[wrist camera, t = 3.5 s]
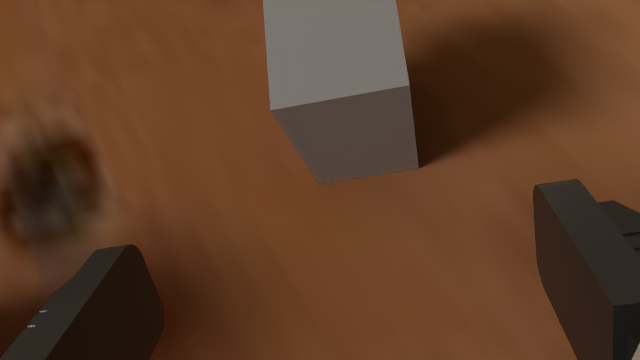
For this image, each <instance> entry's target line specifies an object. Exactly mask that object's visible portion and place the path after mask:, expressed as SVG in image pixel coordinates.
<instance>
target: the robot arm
mask: <svg viewBox="0 0 640 360" xmlns="http://www.w3.org/2000/svg"><path fill="white" fill-rule="evenodd" d="M533 203H534V221H535V238H536V255H537V263H538V269H539V274H540V277H541V281H542V284H543V287H544V289H545V291H546V293H547V296H548V298H549V300H550V302H551V304H552V306H553V308H554V310H555V313H556V315H557V317H558V319H559V321H560V323H561V325H562V327H563V330H564V332H565V334H566V336H567V338H568V340H569V342H570V344H571V347H572V349H573V351H574V353H575V355H576V357H577V359H578V360H640V214H639V213H638V212H636V211H634V210H632V209H630V208H628V207H626V206H624V205H622V204H620V203H618V202H616V201H607V202H600V203H597V202H596V200H595V199H594V198H593V197H592V195H591V194H590V193H589V192H588V190H587V189H586V188H585V187H584V185H583V184H582V183H581V182H580V180H578V179H572V180H566V181H559V182H552V183H546V184H539V185H535V186H534V190H533ZM39 311H40V313H39V314H36V315H35V316H34V317H33V319H32V320H31V321H30V322H29V324H28V325H27V326H28V328H27V329H24V330H23V331H22V332H21V333H20V335H19V336H18V337H17V338H16V340H15V341H14V342H13V343H12V344H11V346H10V347H9V348H8V349H7V351H6V352H5V353H4V354H3V355H2V357H1V358H0V360H149V359H150V357H151V354H152V352H153V350H154V348H155V346H156V344H157V342H158V340H159V338H160V336H161V333H162V330H163V326H164V311H163V306H162V303H161V300H160V298H159V295H158V293H157V291H156V288H155V286H154V283H153V281H152V278H151V276H150V274H149V271H148V269H147V266H146V264H145V261H144V259H143V256H142V254H141V252H140V251H139V249H138V248H137V247H136V246H134V245H124V246H118V247H111V248H104V249H98V250H96V251H94V252H93V253H92V255H91V256H90V257H89V259H88V260H87V261H86V262H85V264H84V265H83V266H82V267H81V269H80V270H79V271H78V272H77V274H76V275H75V276H74V277H73V278H72V279H71V280H69V281H68V282H67V283H66V284H64V285H63V286H62V287H60V288H59V289H58V290H57V291H55V292H54V293H53V294H52V295H51V297H50V298H49V299H48V300H47V302H46V303H45V304H44V305H43V306H42V308H41V309H40V310H39Z"/></svg>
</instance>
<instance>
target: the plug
mask: <svg viewBox="0 0 640 360" xmlns="http://www.w3.org/2000/svg"><path fill="white" fill-rule="evenodd" d="M263 8H264V22H265V37H266V52H267V66H268V81H269V95H270V110H271V112H272V113H273V115H274V116H275V118H276V119H277V121H278V122H279V124H280V126H281V127H282V129H283V130H284V132H285V133H286V135H287V136H288V138H289V139H290V141H291V142H292V144H293V145H294V147H295V148H296V150H297V152H298V153H299V155H300V156H301V158H302V159H303V161H304V162H305V164H306V165H307V167H308V168H309V170H310V171H311V173H312V174H313V176H314V177H315V179H316V181H317V182H318V184H323V183H329V182H336V181H342V180H348V179H355V178H361V177H368V176H374V175H380V174H387V173H393V172H400V171H406V170H413V169H419V165H418V156H417V147H416V138H415V129H414V120H413V111H412V102H411V93H410V84H409V78H408V72H407V66H406V60H405V54H404V48H403V42H402V36H401V30H400V24H399V18H398V12H397V6H396V0H263Z"/></svg>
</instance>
